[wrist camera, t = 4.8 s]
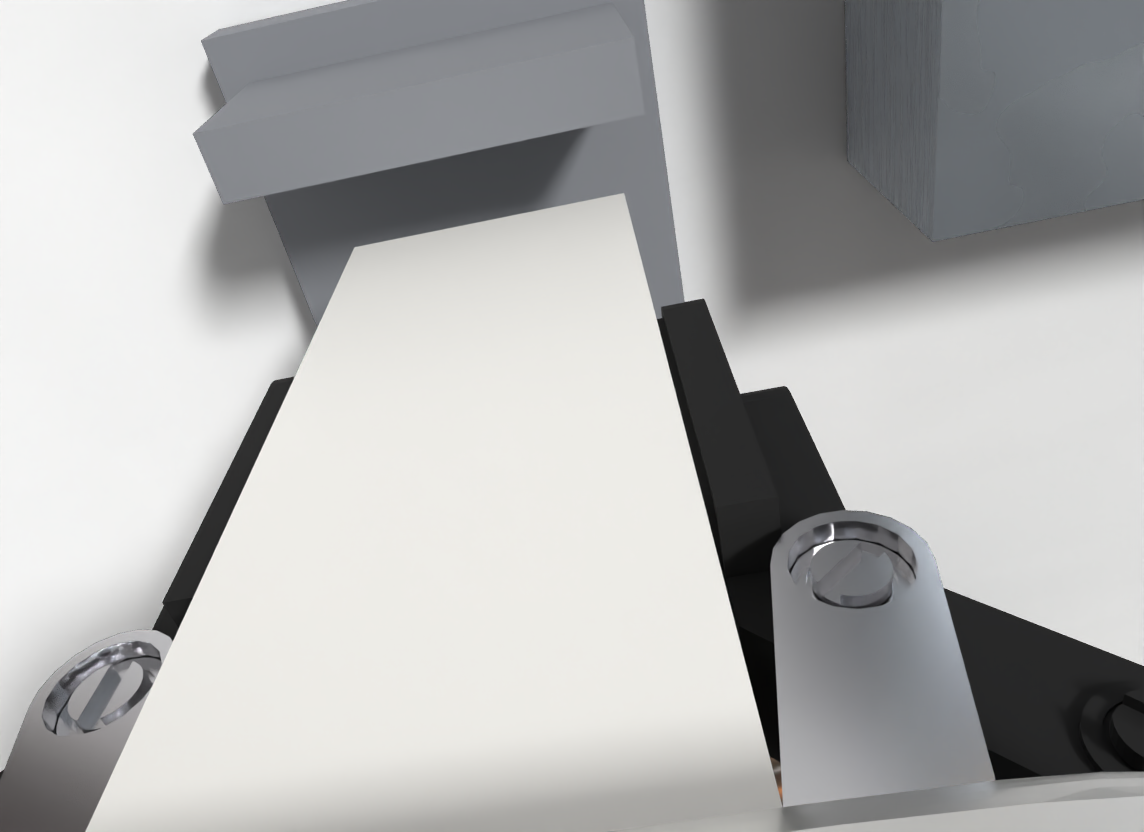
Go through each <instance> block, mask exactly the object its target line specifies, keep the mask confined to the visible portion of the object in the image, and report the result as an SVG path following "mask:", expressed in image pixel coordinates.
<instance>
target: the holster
mask: <svg viewBox="0 0 1144 832" xmlns="http://www.w3.org/2000/svg"><path fill="white" fill-rule="evenodd" d="M201 42H202V45H203V47H204V50H205V52H206V55H207V57H208V59H209V62H210V64H211V67H212V69H213V72H214V74H215V77H216V79H217V82H218V84H219V87H220V89H221V92H222V94H223V96H224V99H225V101H226V104H225V105H224V106H223V107H222V108H221V109H220V110H219V111H218V112H216V113H215V114H214V115H213V116H212V117H211V118H210V119H209V120H208V121H206V122H205V123H204V124H203V125H202V126H201V127H200V128H199V129H198V130H196V131H195V132H194V133H193V135H194V138H195V140H196V142H197V145H198V147H199V149H200V152H201V154H202V156H203V158H204V161H205V163H206V165H207V168H208V170H209V172H210V175H211V177H212V179H213V181H214V184H215V186H216V188H217V191H218V193H219V195H220V197H221V200H222V202H223V204H229V203H233V202H238V201H243V200H247V199H252V198H257V197H261V196H264V197H265V200H266V202H267V205H268V207H269V210H270V212H271V215H272V217H273V220H274V222H275V225H276V227H277V230H278V232H279V234H280V237H281V239H282V242H283V244H284V247H285V249H286V252H287V254H288V257H289V259H290V262H291V264H292V266H293V269H294V271H295V274H296V276H297V279H298V281H299V284H300V286H301V289H302V291H303V294H304V296H305V299H306V301H307V303H308V306H309V308H310V311H311V313H312V316H313V318H314V321H315V323H316V326H317V328H318V325H319V323H320V321H321V319H322V317H323V315H324V312H325V310H326V308H327V306H328V304H329V301H330V299H331V297H332V295H333V293H334V291H335V288H336V286H337V284H338V282H339V280H340V278H341V275H342V273H343V271H344V269H345V267H346V265H347V262H348V260H349V258H350V256H351V254H352V252H353V249H354V247H358V246H363V245H368V244H373V243H378V242H383V241H388V240H393V239H398V238H403V237H408V236H413V235H418V234H423V233H428V232H433V231H438V230H443V229H448V228H453V227H458V226H463V225H468V224H472V223H477V222H482V221H487V220H492V219H497V218H502V217H507V216H512V215H517V214H522V213H527V212H532V211H537V210H542V209H547V208H552V207H557V206H562V205H567V204H572V203H577V202H582V201H587V200H592V199H597V198H601V197H606V196H611V195H616V194H621V193H624V195H625V198H626V202H627V206H628V210H629V214H630V218H631V222H632V226H633V229H634V233H635V237H636V241H637V245H638V249H639V253H640V257H641V260H642V264H643V268H644V272H645V276H646V280H647V284H648V288H649V291H650V295H651V299H652V303H653V307H654V311H655V315H656V319H660V318H662V314H661V307H663V306H668V305H673V304H678V303H684V295H683V287H682V280H681V272H680V265H679V257H678V250H677V243H676V235H675V228H674V220H673V213H672V206H671V198H670V191H669V183H668V176H667V168H666V161H665V154H664V146H663V139H662V131H661V124H660V117H659V109H658V102H657V94H656V87H655V79H654V72H653V65H652V57H651V50H650V42H649V35H648V28H647V20H646V13H645V5H644V0H347V1H343V2H338V3H334V4H329V5H325V6H320V7H316V8H312V9H307V10H303V11H298V12H294V13H290V14H285V15H281V16H276V17H272V18H267V19H263V20H259V21H254V22H250V23H245V24H241V25H237V26H232V27H228V28H223V29H219V30H217V31H216V32H214V33H212V34H211V35H209V36H208V37H206V38H204V39H203V40H201Z"/></svg>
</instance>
